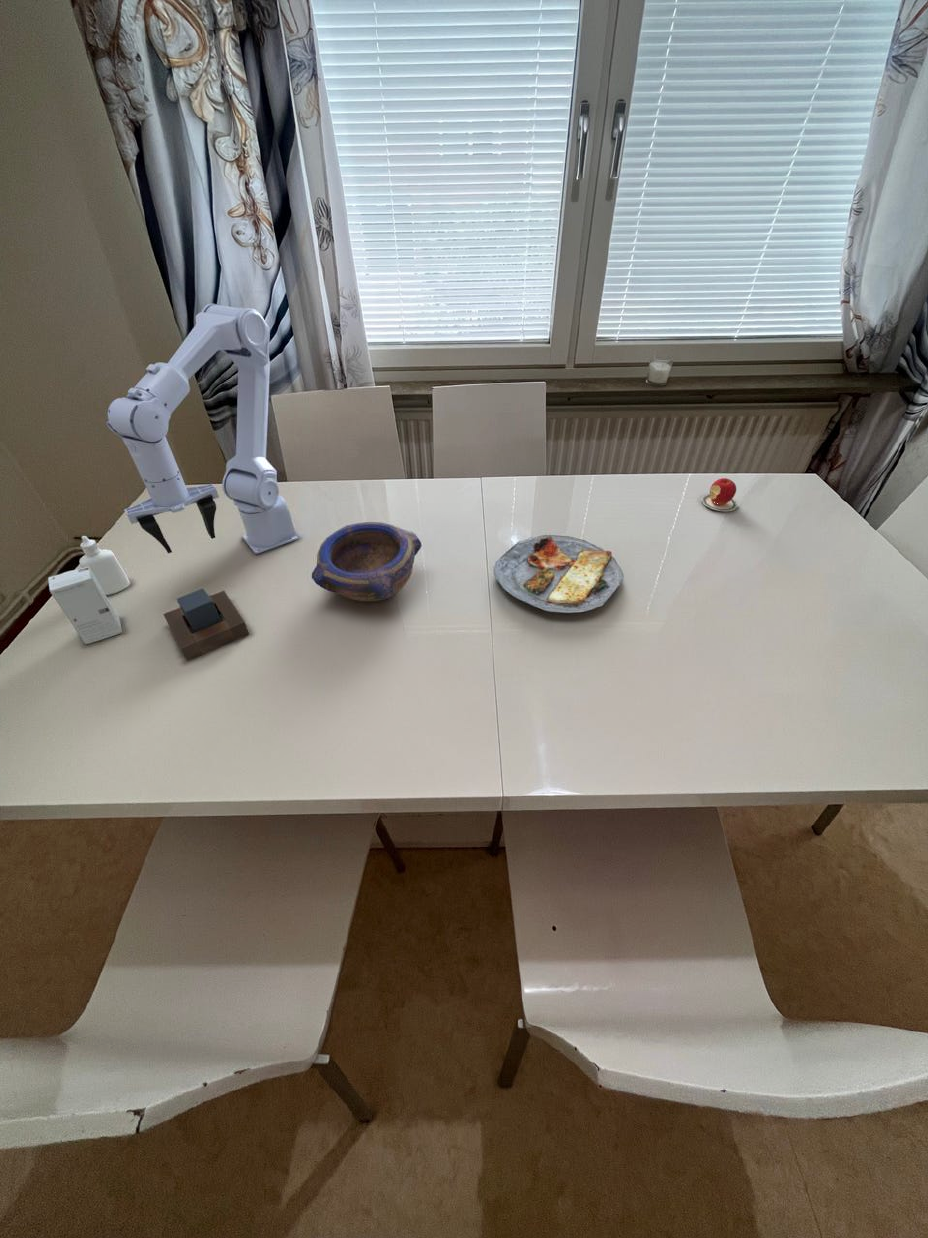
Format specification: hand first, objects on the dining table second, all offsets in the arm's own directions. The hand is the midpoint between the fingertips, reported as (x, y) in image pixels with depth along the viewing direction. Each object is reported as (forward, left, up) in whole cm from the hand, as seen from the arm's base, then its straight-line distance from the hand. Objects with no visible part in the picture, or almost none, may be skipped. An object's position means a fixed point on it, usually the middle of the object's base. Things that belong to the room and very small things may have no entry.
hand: (190, 542), depth 94 cm
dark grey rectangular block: (+4, +13, -10) cm, 17 cm away
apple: (-107, +43, -10) cm, 116 cm away
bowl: (-25, +20, -10) cm, 34 cm away
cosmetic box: (+19, +2, -10) cm, 22 cm away
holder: (+4, +13, -10) cm, 17 cm away
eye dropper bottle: (+15, -10, -10) cm, 21 cm away
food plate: (-56, +40, -10) cm, 70 cm away
